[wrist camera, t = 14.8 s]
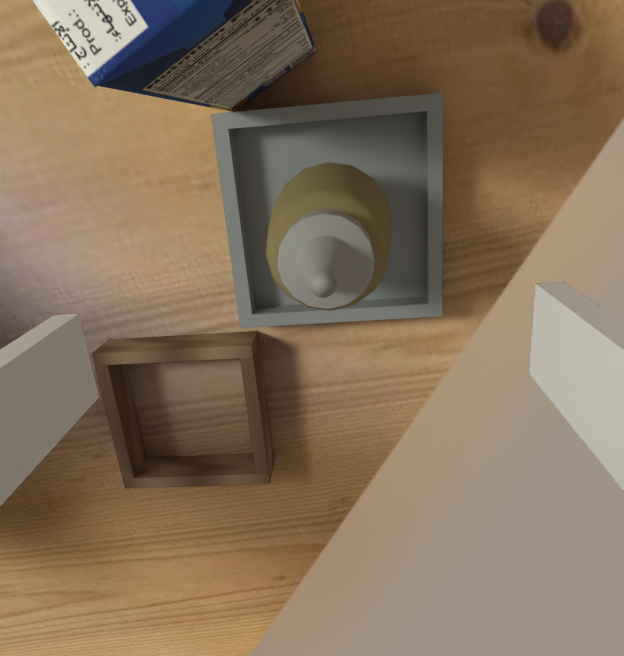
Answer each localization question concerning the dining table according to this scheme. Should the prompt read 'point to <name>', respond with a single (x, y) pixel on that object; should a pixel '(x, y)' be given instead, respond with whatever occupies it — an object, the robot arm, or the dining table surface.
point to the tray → (350, 149)
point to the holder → (184, 468)
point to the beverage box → (183, 45)
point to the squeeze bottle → (329, 236)
